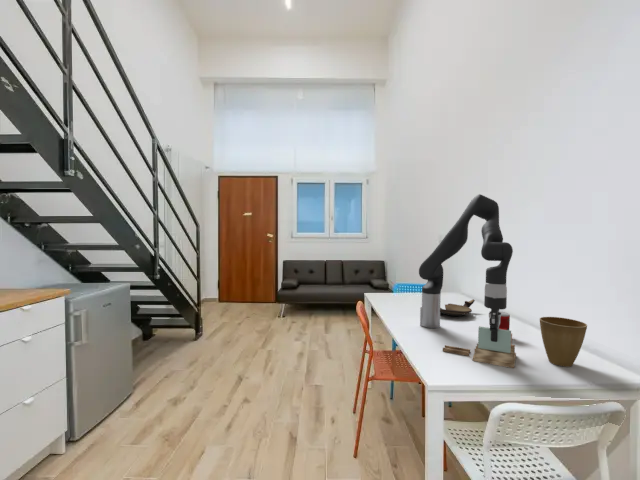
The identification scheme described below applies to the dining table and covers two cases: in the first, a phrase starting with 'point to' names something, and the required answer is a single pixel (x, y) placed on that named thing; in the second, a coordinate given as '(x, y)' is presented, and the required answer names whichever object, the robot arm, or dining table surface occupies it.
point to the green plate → (501, 344)
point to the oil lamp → (457, 309)
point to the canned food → (504, 321)
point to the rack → (495, 357)
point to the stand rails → (456, 350)
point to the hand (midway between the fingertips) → (494, 340)
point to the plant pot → (562, 339)
